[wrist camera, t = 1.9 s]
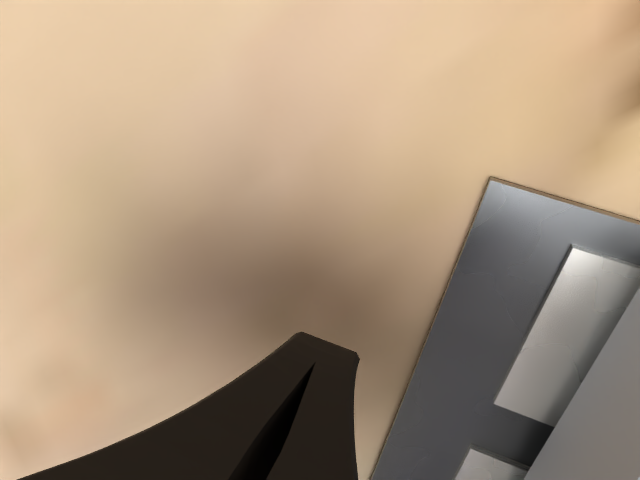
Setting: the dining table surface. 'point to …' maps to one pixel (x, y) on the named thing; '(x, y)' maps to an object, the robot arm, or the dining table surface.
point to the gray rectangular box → (601, 415)
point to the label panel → (512, 336)
